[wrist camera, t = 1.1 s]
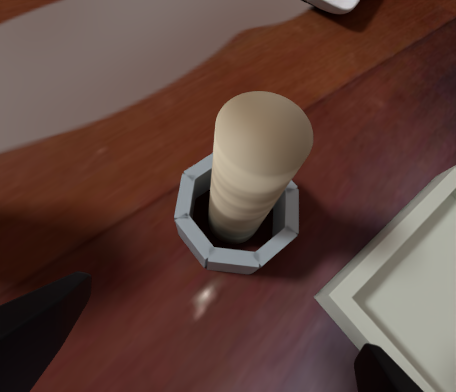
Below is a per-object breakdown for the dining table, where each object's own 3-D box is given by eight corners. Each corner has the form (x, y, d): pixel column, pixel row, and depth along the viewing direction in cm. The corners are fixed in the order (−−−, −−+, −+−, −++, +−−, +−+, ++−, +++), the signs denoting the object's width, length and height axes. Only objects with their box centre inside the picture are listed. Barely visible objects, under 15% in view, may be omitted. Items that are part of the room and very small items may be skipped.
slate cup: (225, 296, 22) (230, 293, 18) (160, 210, 24) (152, 191, 20) (304, 228, 25) (323, 213, 21) (239, 156, 27) (245, 131, 23)
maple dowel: (229, 254, 23) (260, 194, 11) (197, 214, 24) (194, 120, 12) (268, 223, 24) (333, 139, 12) (236, 187, 26) (267, 77, 14)
